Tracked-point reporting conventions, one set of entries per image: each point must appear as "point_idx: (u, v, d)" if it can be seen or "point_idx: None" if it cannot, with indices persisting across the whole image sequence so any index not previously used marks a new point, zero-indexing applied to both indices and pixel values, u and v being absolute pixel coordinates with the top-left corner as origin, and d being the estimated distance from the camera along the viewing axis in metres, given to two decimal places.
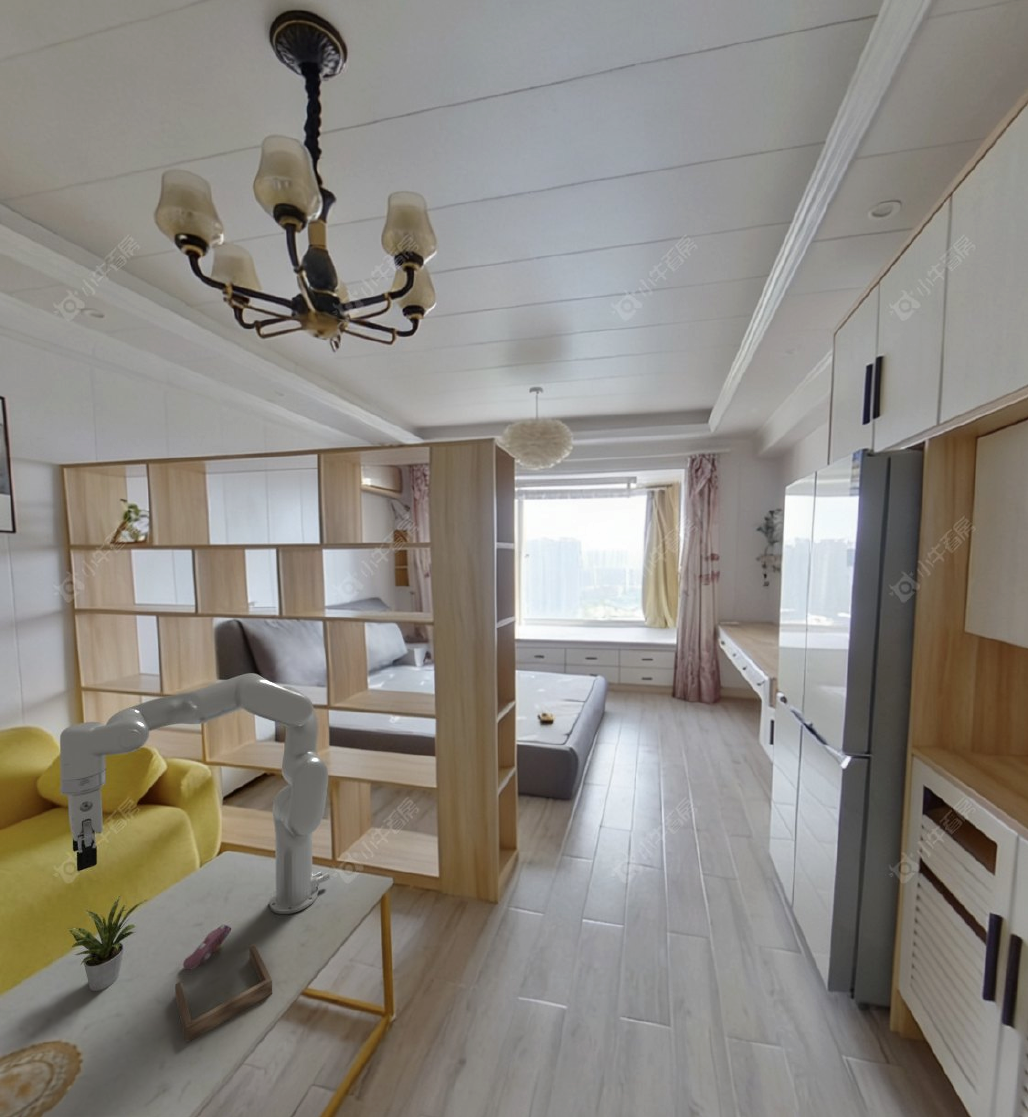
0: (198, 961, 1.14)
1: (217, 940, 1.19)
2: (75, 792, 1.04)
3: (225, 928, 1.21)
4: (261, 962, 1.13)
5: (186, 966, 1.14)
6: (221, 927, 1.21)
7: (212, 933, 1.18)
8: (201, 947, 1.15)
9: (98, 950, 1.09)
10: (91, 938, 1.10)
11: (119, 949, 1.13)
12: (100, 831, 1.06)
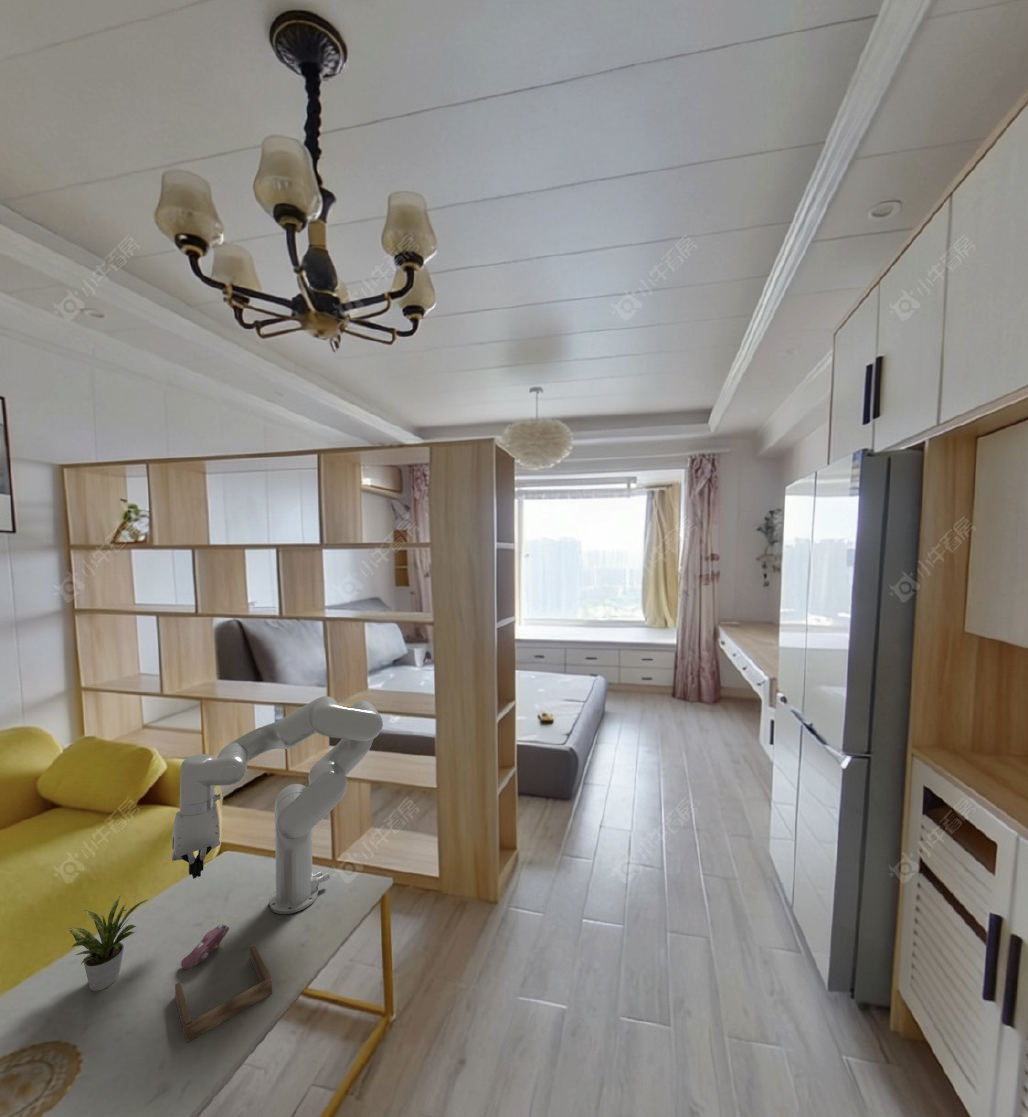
0: (196, 960, 1.14)
1: (215, 939, 1.19)
2: (213, 806, 1.28)
3: (223, 927, 1.21)
4: (261, 962, 1.13)
5: (184, 966, 1.14)
6: (219, 926, 1.21)
7: (210, 932, 1.18)
8: (199, 946, 1.15)
9: (98, 950, 1.09)
10: (91, 938, 1.10)
11: (119, 949, 1.13)
12: None
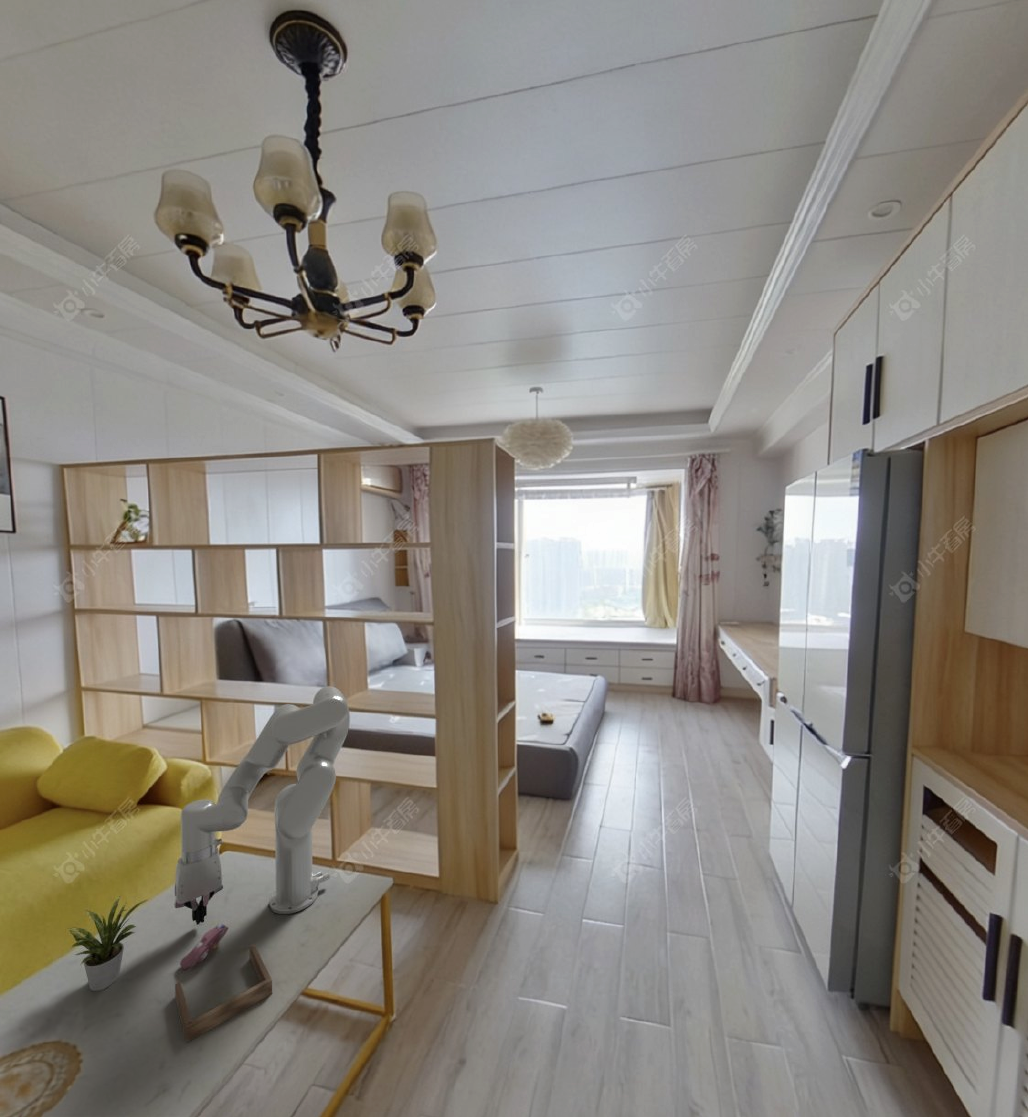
0: (195, 960, 1.14)
1: (214, 939, 1.19)
2: (215, 851, 1.28)
3: (222, 927, 1.21)
4: (261, 962, 1.13)
5: (183, 966, 1.14)
6: (218, 926, 1.21)
7: (209, 932, 1.18)
8: (198, 946, 1.15)
9: (98, 950, 1.09)
10: (91, 938, 1.10)
11: (119, 949, 1.13)
12: None
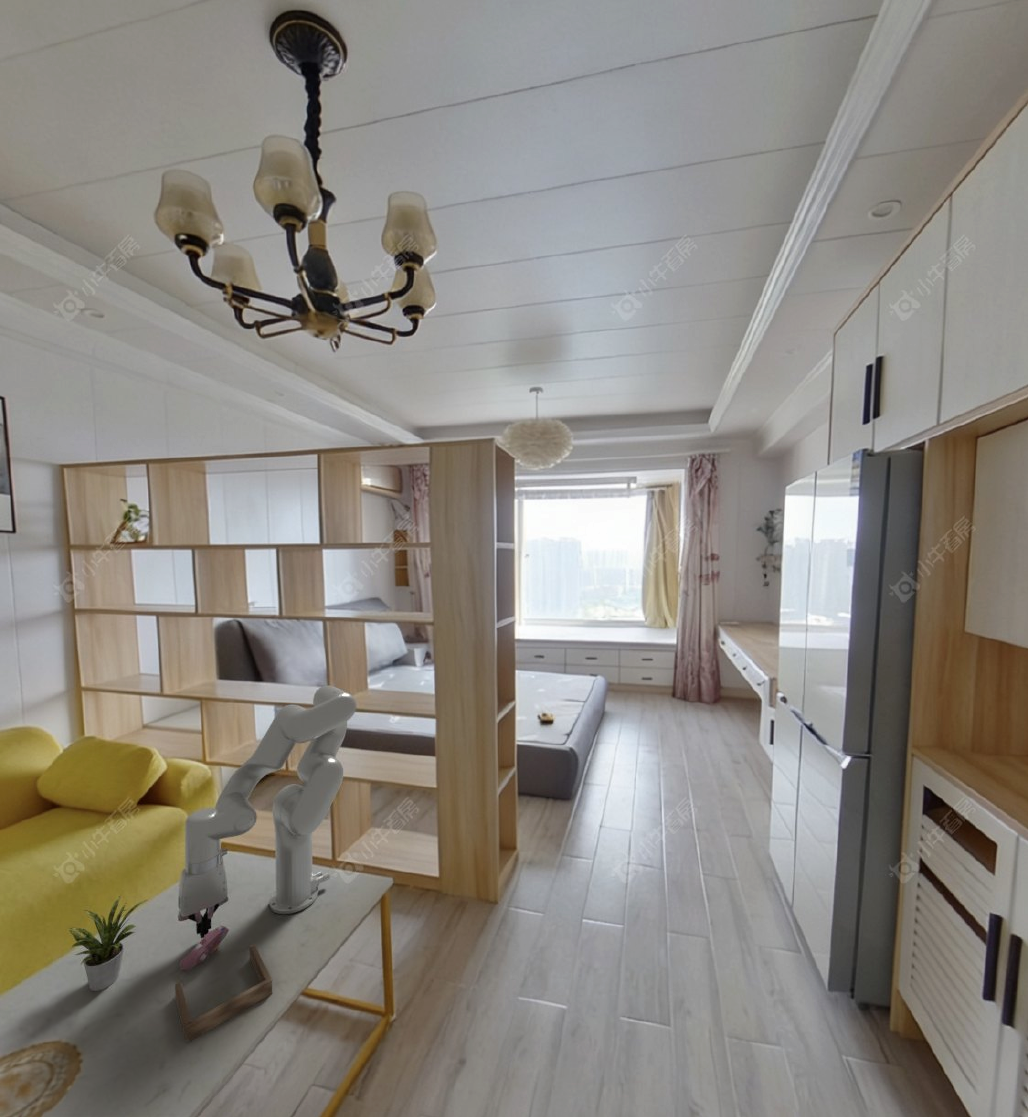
0: (194, 961, 1.13)
1: (214, 941, 1.18)
2: (220, 862, 1.23)
3: (222, 929, 1.20)
4: (261, 962, 1.13)
5: (182, 967, 1.14)
6: (218, 928, 1.20)
7: (209, 934, 1.18)
8: (197, 948, 1.15)
9: (98, 950, 1.09)
10: (91, 938, 1.10)
11: (119, 949, 1.13)
12: None
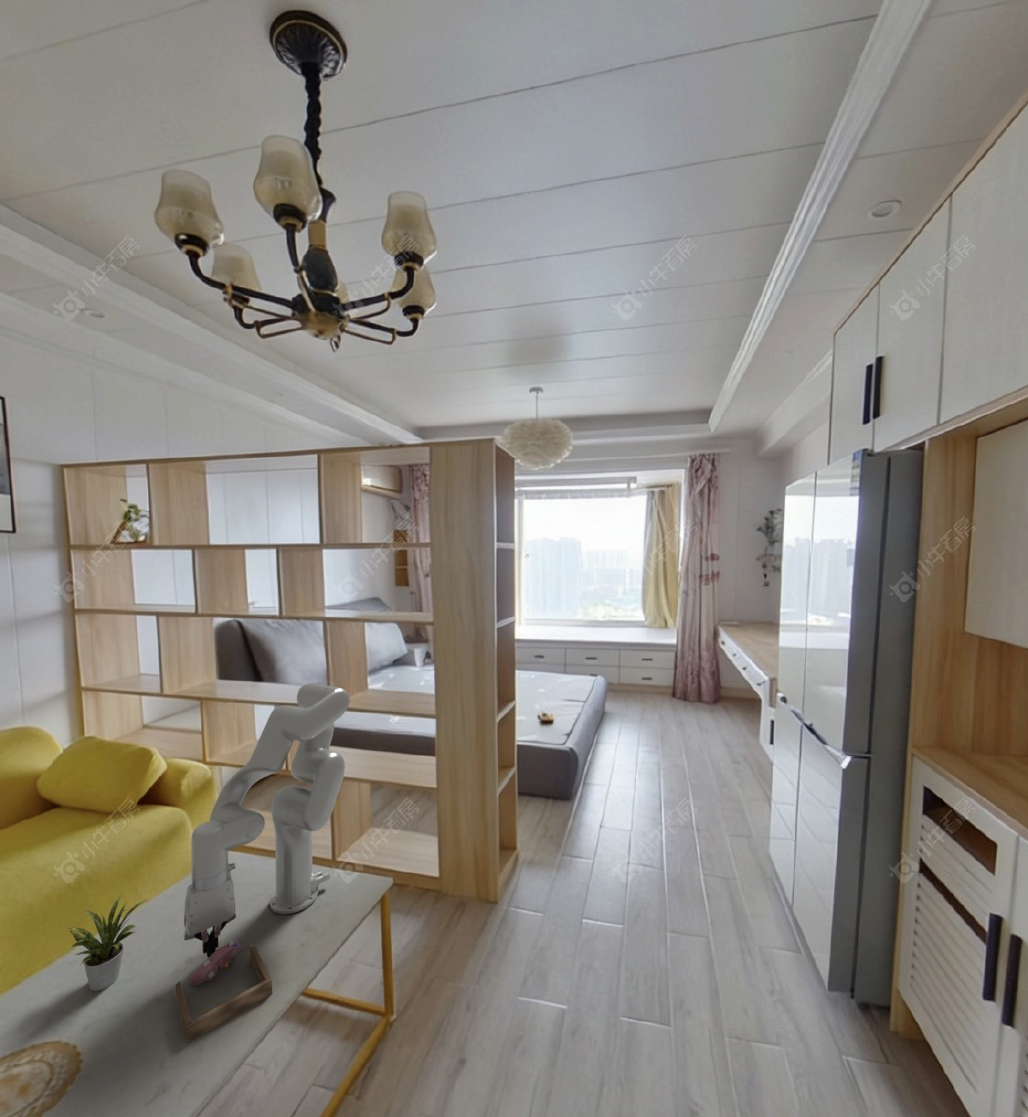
0: (201, 979, 1.09)
1: (224, 958, 1.13)
2: (227, 877, 1.18)
3: (234, 946, 1.15)
4: (261, 962, 1.13)
5: (191, 982, 1.10)
6: (230, 944, 1.16)
7: (219, 950, 1.13)
8: (205, 964, 1.10)
9: (98, 950, 1.09)
10: (91, 938, 1.10)
11: (119, 949, 1.13)
12: None
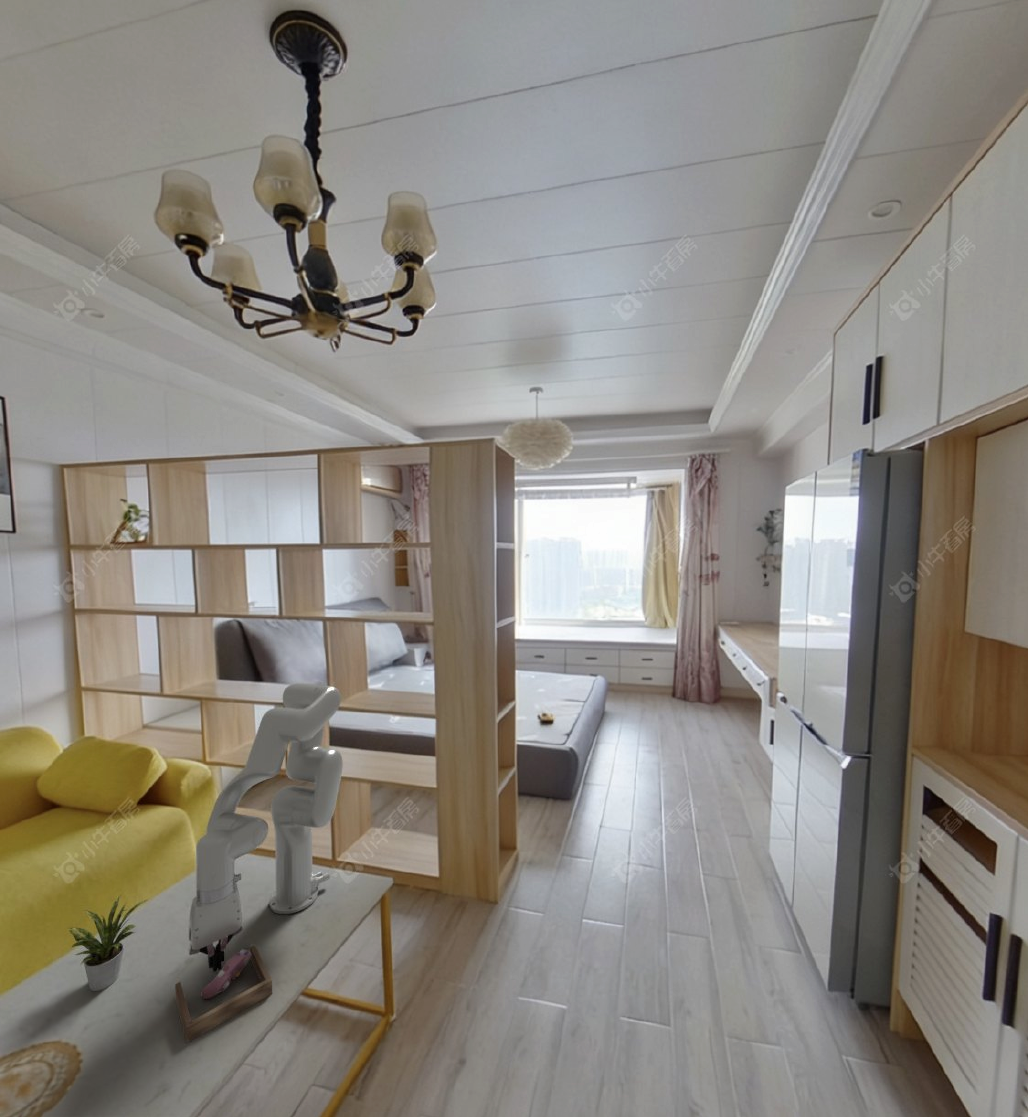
0: (217, 990, 1.06)
1: (237, 967, 1.11)
2: (234, 888, 1.14)
3: (245, 954, 1.13)
4: (261, 962, 1.13)
5: (204, 996, 1.07)
6: (241, 953, 1.13)
7: (231, 959, 1.10)
8: (220, 975, 1.07)
9: (98, 950, 1.09)
10: (91, 938, 1.10)
11: (119, 949, 1.13)
12: None
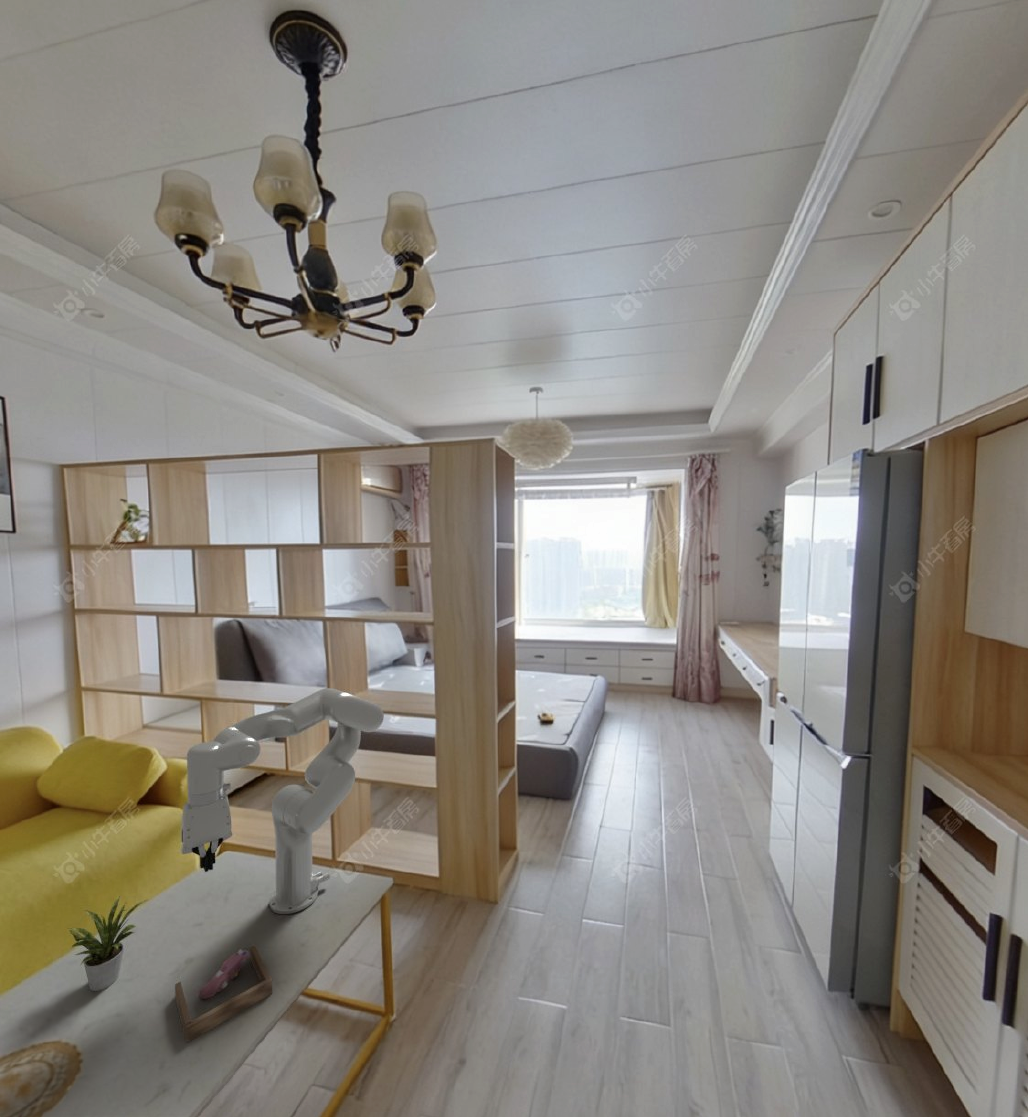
0: (215, 990, 1.06)
1: (235, 967, 1.11)
2: (223, 795, 1.21)
3: (243, 954, 1.13)
4: (261, 962, 1.13)
5: (202, 996, 1.07)
6: (239, 952, 1.13)
7: (229, 959, 1.10)
8: (218, 975, 1.07)
9: (98, 950, 1.09)
10: (91, 938, 1.10)
11: (119, 949, 1.13)
12: None
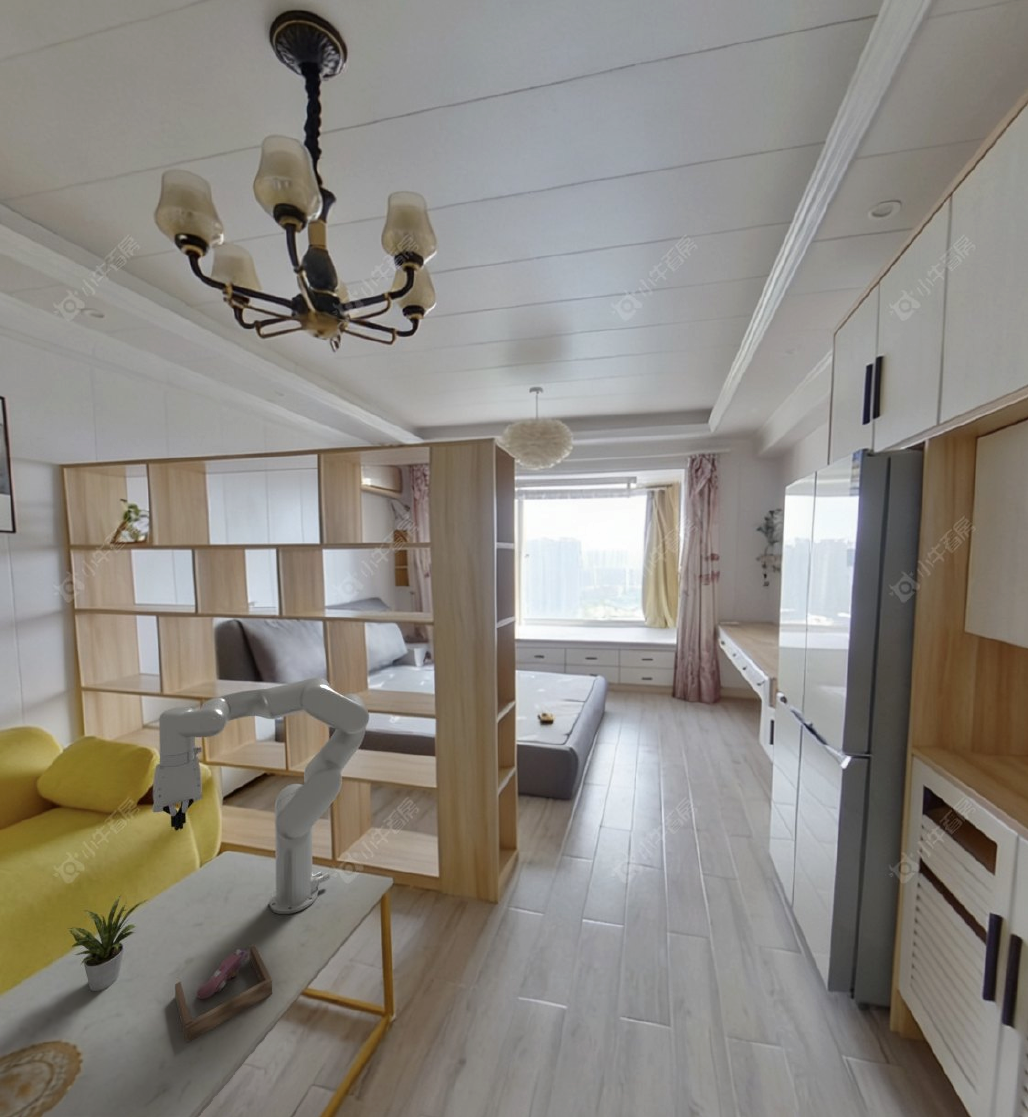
0: (213, 990, 1.06)
1: (233, 967, 1.11)
2: (194, 758, 1.27)
3: (241, 953, 1.13)
4: (261, 962, 1.13)
5: (200, 996, 1.07)
6: (237, 952, 1.13)
7: (228, 959, 1.11)
8: (216, 975, 1.07)
9: (98, 950, 1.09)
10: (91, 938, 1.10)
11: (119, 949, 1.13)
12: None
